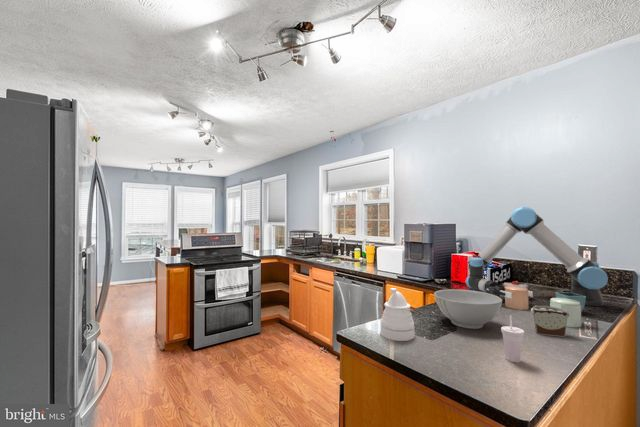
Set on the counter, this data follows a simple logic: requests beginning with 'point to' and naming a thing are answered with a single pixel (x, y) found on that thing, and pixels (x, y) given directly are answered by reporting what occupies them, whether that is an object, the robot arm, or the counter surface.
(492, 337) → the counter surface
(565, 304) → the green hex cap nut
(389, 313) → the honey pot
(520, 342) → the smoothie
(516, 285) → the food item
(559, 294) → the flower pot
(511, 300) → the octagonal lidded jar
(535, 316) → the food container
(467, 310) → the decorative bowl
